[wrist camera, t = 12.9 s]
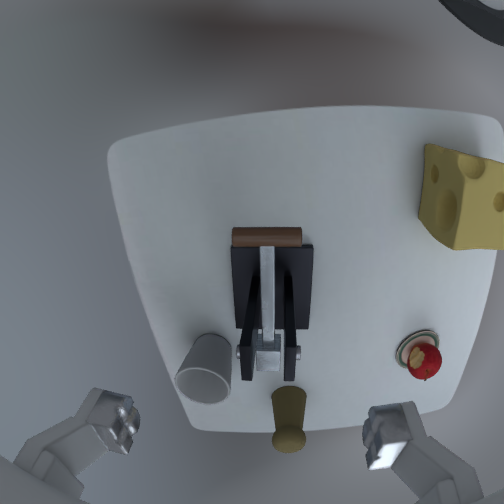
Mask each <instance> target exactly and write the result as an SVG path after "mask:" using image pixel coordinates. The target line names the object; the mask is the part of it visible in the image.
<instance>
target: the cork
mask: <svg viewBox="0 0 504 504" xmlns="http://www.w3.org/2000/svg"><path fill="white" fill-rule="evenodd" d="M272 405H273V413H274V420H275V428H276V431H275V432H274V434H273V437H272V444H273V446H274V448H275V449H276V450H278V451H280V452H283V453H293V452H297V451H299V450H301V449H302V448H303V447H304V446H305V442H306V436H305V433H304V431H303V430H302V429H303V421H304V413H305V405H306V393H305V391H304V390H303V389H301V388H299V387H295V386H285V387H281V388H279V389H277V390H276V391H274V392H273V394H272Z"/></svg>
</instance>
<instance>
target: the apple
mask: <svg viewBox="0 0 504 504" xmlns="http://www.w3.org/2000/svg"><path fill="white" fill-rule="evenodd" d="M439 343H440V341H439V337H438V336H437V335H436V334H435V333H434V332H431V331H422V332H419V333H416V334H414V335H412V336H411V337H409V338H408V339H407V340H405V341H404V342H403V344H402V345H401V346H400V348H399V349H398V352H397V355H396V359H397V363H398V364H399V365H400V366H401V367H403V368H406V369H408V370H409V372H410V373H411V374H412V376H414V377H415V378H417V379H425V380H424V381H426V380H427V379H428V378H430V377H432V376H434V375H435V374H436V373H437V372H438V370H439V369H440V367H441V364H442V357H441V354H440V351H439V350H438V348H439Z"/></svg>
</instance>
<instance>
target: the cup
mask: <svg viewBox="0 0 504 504" xmlns="http://www.w3.org/2000/svg"><path fill="white" fill-rule="evenodd" d="M231 370H232V350H231V346H230V344H229V343H228V342H227V341H226V340H225V339H224V338H222V337H220V336H217V335H213V334H207V335H203V336H201V337H199V338H198V339H197V340H196V342H195V344H194V345H193V347H192V348H191V350H190V351H189V353H188V354H187V356H186V358H185V360H184V361H183V363H182V365H181V367H180V368H179V370H178V372H177V374H176V376H175V385H176V387H177V389H178V390H179V392H180V393H181V394H182V395H183V396H185V397H186V398H188V399H190V400H191V401H194V402H197V403H201V404H204V405H212V404H218V403H221V402H223V401H224V400H226V399H227V398H228V396H229V395H230V389H231Z"/></svg>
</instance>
